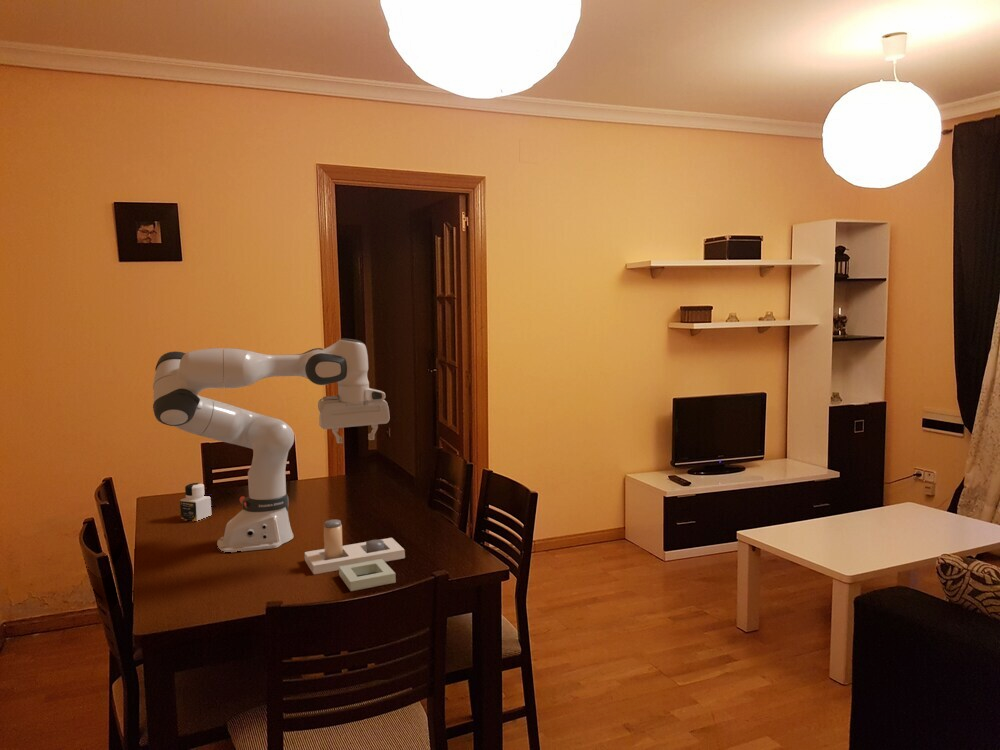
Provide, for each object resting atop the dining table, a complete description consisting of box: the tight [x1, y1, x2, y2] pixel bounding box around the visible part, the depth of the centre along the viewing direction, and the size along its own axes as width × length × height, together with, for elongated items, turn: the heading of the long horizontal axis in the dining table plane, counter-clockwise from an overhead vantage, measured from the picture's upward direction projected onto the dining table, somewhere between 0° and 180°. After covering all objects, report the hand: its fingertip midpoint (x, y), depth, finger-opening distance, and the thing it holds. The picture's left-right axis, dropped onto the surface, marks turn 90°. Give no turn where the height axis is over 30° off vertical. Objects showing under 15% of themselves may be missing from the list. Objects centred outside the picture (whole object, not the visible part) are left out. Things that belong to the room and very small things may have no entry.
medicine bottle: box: [179, 482, 213, 522], centre depth 248 cm, size 7×7×12 cm
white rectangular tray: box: [304, 537, 406, 575], centre depth 206 cm, size 26×12×4 cm, turn 116°
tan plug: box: [323, 519, 344, 561], centre depth 203 cm, size 5×5×12 cm
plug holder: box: [338, 559, 397, 592], centre depth 192 cm, size 12×12×2 cm
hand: (355, 441), depth 210 cm, fingers open, 8 cm apart
